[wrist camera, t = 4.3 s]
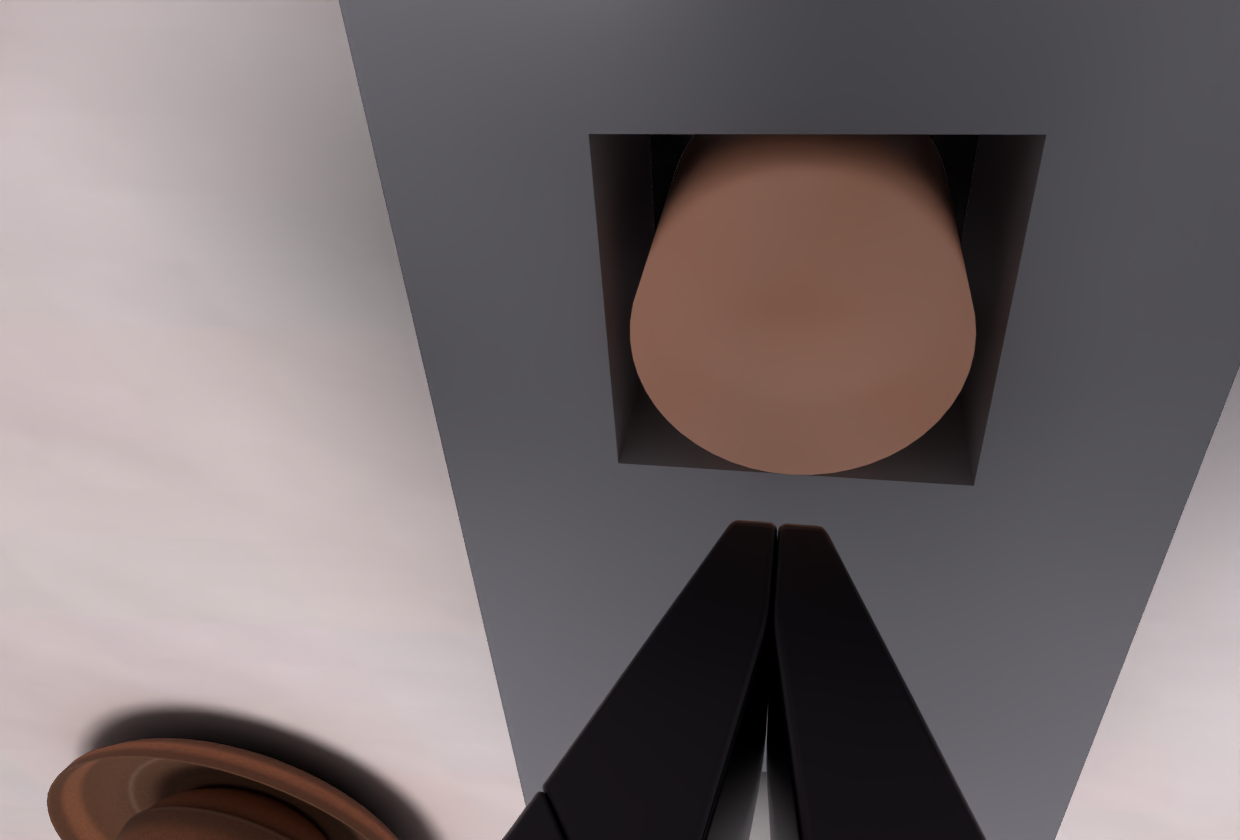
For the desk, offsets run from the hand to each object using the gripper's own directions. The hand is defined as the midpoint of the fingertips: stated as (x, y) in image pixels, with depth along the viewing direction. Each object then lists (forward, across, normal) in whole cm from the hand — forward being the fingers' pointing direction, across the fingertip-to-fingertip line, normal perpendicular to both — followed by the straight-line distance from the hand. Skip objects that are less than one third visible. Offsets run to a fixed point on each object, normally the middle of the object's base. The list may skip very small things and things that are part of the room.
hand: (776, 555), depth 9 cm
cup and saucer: (+8, +16, +22) cm, 28 cm away
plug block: (+8, 0, +6) cm, 10 cm away
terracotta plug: (+7, 0, 0) cm, 7 cm away
